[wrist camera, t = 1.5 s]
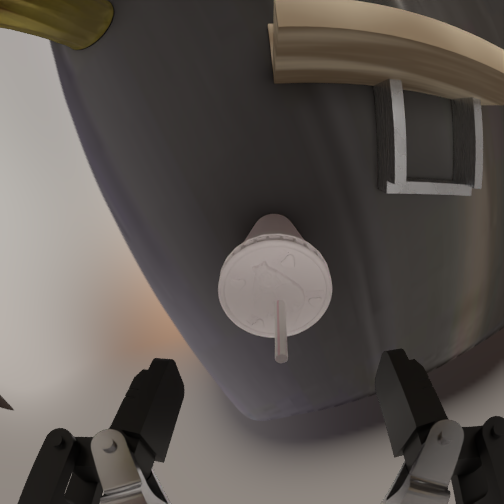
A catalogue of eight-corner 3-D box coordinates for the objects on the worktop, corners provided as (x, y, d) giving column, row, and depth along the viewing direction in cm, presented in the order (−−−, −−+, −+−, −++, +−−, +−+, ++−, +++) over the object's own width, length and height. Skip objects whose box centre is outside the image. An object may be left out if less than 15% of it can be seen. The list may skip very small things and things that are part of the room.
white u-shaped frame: (373, 85, 18) (389, 78, 15) (458, 101, 17) (480, 99, 14) (377, 188, 21) (394, 197, 18) (459, 191, 20) (480, 199, 17)
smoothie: (257, 278, 25) (245, 406, 13) (223, 218, 23) (168, 319, 11) (322, 249, 24) (366, 368, 11) (291, 184, 22) (321, 254, 9)
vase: (99, -7, 14) (12, -51, 1) (124, 14, 16) (26, -39, 3) (60, 34, 16) (-37, 15, 3) (81, 60, 18) (-30, 41, 4)
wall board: (267, 28, 17) (264, -57, 6) (466, 57, 15) (548, 42, 4) (274, 83, 19) (278, 26, 8) (473, 105, 17) (562, 109, 6)
